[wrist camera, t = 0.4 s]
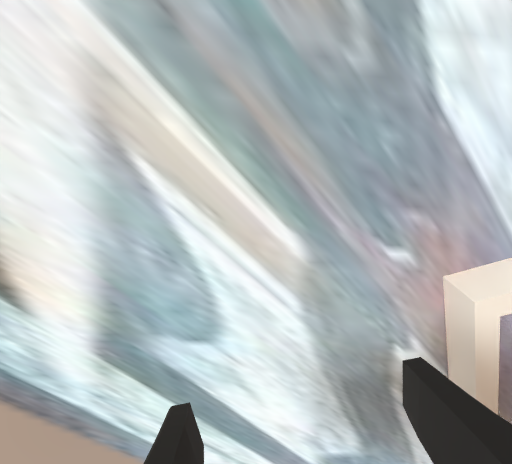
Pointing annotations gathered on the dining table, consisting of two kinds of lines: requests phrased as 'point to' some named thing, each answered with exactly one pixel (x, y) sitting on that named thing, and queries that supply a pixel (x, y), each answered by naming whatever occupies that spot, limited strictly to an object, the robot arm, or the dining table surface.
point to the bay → (477, 327)
